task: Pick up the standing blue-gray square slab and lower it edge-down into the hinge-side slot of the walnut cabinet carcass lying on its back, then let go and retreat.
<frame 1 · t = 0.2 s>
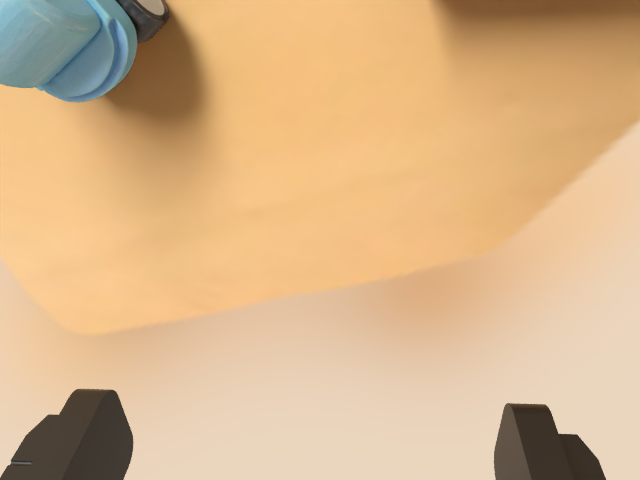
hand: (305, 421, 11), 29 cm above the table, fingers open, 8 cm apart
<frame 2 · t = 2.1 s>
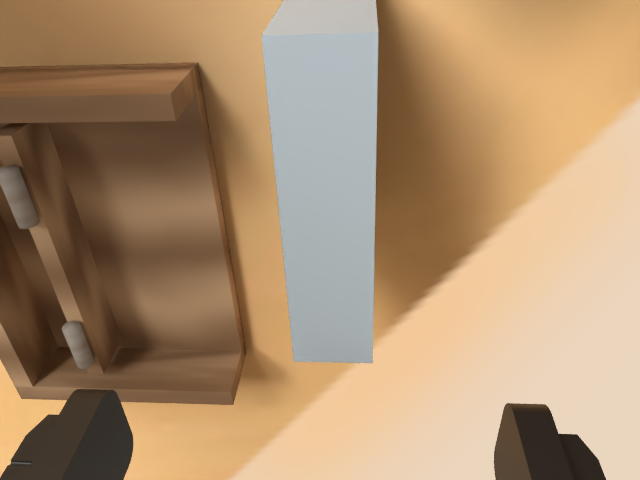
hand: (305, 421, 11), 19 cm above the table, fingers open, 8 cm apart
carcass: (112, 232, 33), on the table
blue-gray square slab: (341, 99, 27), on the table
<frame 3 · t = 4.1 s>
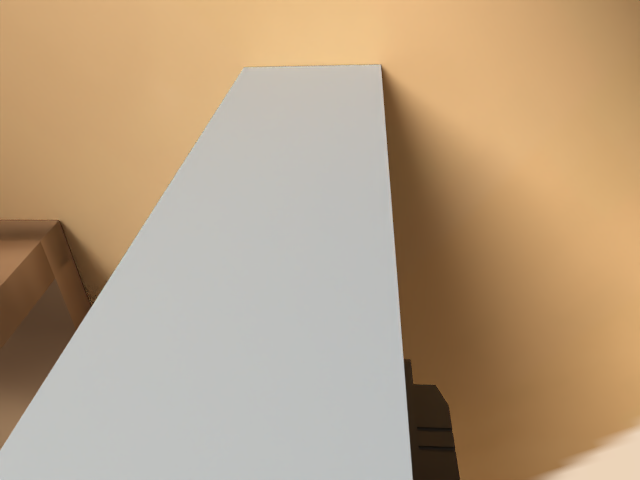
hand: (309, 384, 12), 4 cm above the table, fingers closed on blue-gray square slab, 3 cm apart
blue-gray square slab: (322, 282, 15), on the table, touching gripper
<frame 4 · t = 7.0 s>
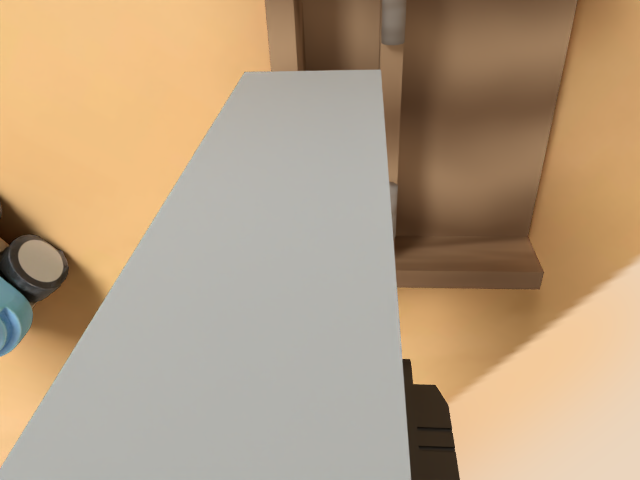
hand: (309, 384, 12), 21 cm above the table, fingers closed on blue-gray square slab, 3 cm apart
carcass: (417, 87, 29), on the table
blue-gray square slab: (322, 284, 15), point 17 cm above the table, touching gripper
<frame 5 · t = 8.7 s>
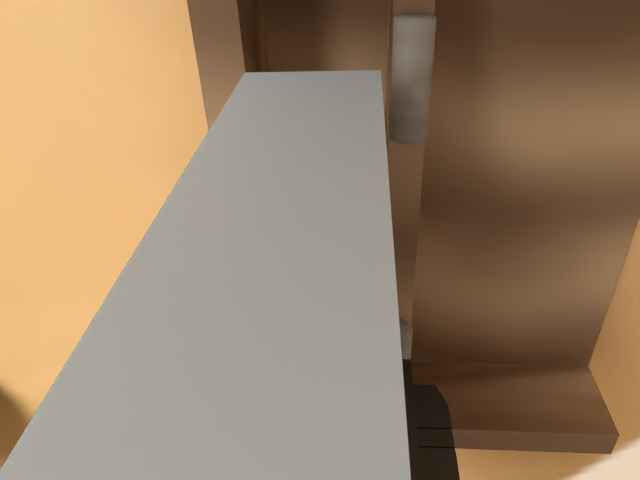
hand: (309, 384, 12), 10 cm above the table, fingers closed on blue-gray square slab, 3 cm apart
carcass: (439, 175, 20), on the table
blue-gray square slab: (322, 285, 15), point 6 cm above the table, touching gripper
when the fingers open (6 cm above the table, at t = 9.9 s): blue-gray square slab stays where it is, resting on carcass.
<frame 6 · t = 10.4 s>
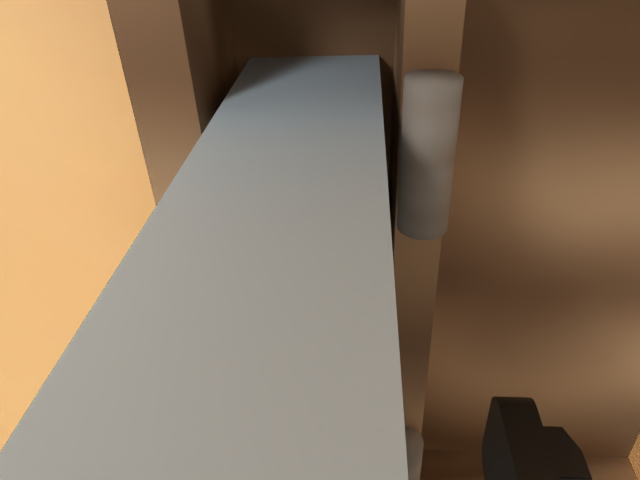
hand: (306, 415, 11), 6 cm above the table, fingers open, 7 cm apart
carcass: (455, 243, 16), on the table
blue-gray square slab: (323, 263, 16), point 1 cm above the table, touching carcass
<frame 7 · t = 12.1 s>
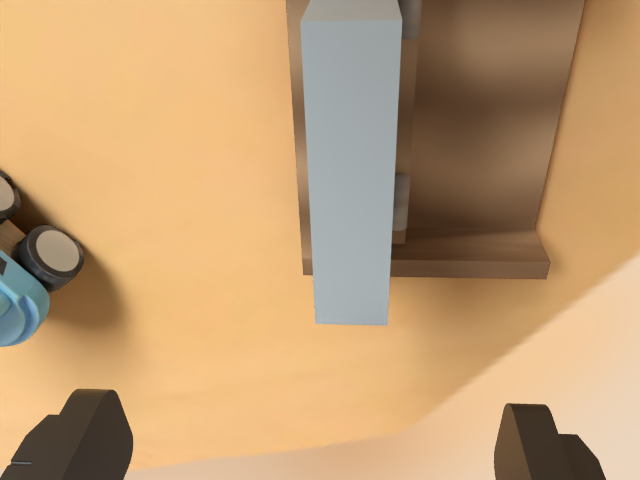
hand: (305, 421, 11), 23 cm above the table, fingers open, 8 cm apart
carcass: (428, 82, 30), on the table
blue-gray square slab: (356, 90, 29), point 1 cm above the table, touching carcass
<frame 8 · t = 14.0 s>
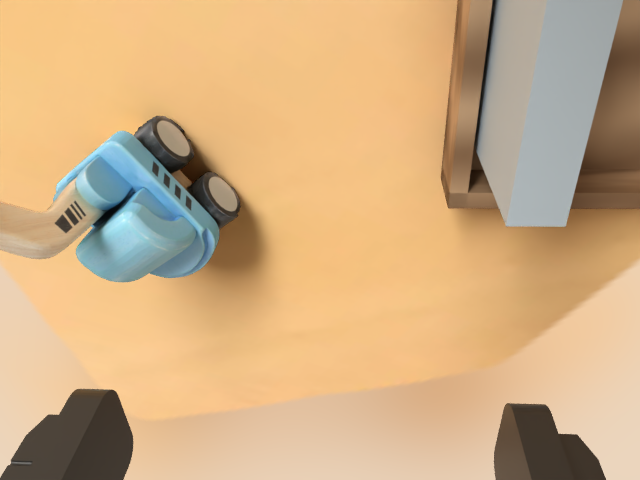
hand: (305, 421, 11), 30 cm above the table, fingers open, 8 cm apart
carcass: (563, 40, 35), on the table
toy excavator: (143, 154, 42), on the table
blue-gray square slab: (504, 46, 34), point 1 cm above the table, touching carcass
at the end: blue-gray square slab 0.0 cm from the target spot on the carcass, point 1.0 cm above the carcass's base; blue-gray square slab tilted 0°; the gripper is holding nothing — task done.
